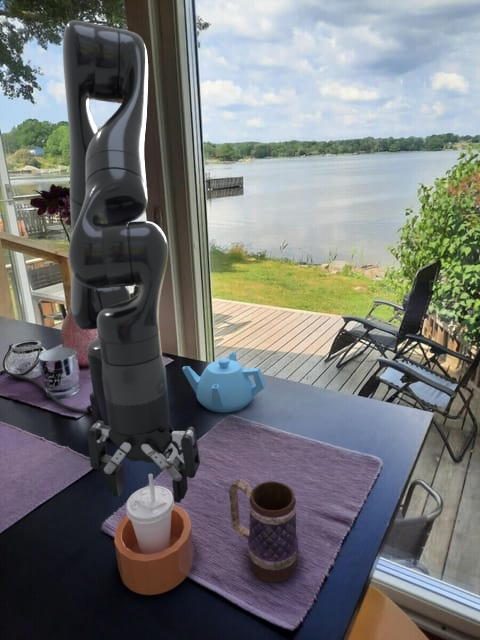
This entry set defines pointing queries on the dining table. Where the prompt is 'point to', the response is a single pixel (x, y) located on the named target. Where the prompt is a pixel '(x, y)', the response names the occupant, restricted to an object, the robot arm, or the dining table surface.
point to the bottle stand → (155, 557)
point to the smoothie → (151, 517)
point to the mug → (268, 528)
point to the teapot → (225, 384)
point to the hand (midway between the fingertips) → (148, 495)
